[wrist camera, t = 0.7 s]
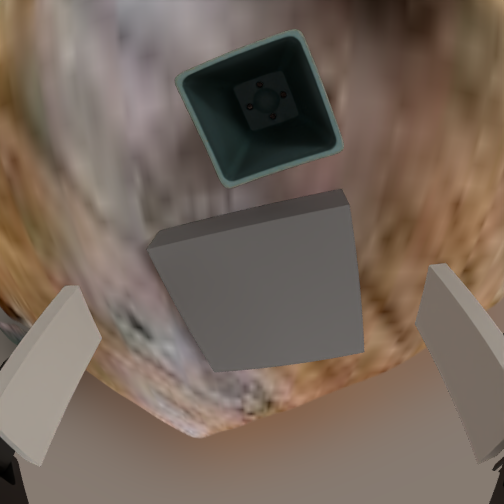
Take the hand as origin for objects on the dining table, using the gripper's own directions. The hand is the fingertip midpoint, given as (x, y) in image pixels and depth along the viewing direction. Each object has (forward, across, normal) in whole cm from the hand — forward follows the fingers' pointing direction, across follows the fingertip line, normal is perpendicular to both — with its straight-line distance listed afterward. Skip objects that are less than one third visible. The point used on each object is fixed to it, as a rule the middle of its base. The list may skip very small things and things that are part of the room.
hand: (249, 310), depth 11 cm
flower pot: (+21, +1, +7) cm, 22 cm away
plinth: (+22, 0, -14) cm, 26 cm away
